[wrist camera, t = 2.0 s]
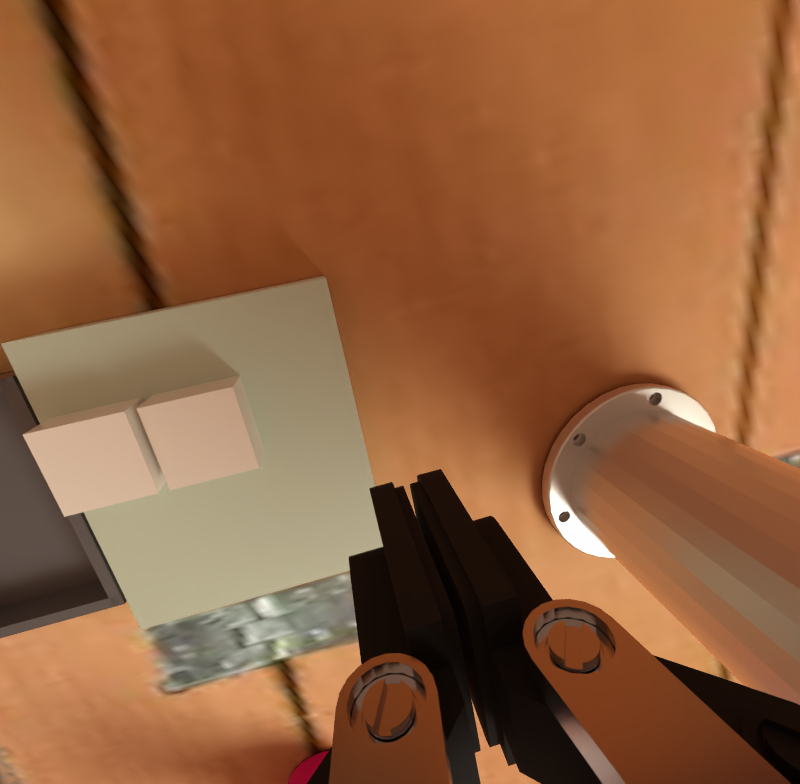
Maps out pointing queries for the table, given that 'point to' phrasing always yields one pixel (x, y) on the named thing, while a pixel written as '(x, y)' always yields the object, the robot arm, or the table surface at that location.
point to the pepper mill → (306, 769)
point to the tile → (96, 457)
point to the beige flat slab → (236, 494)
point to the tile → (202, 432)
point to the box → (42, 536)
